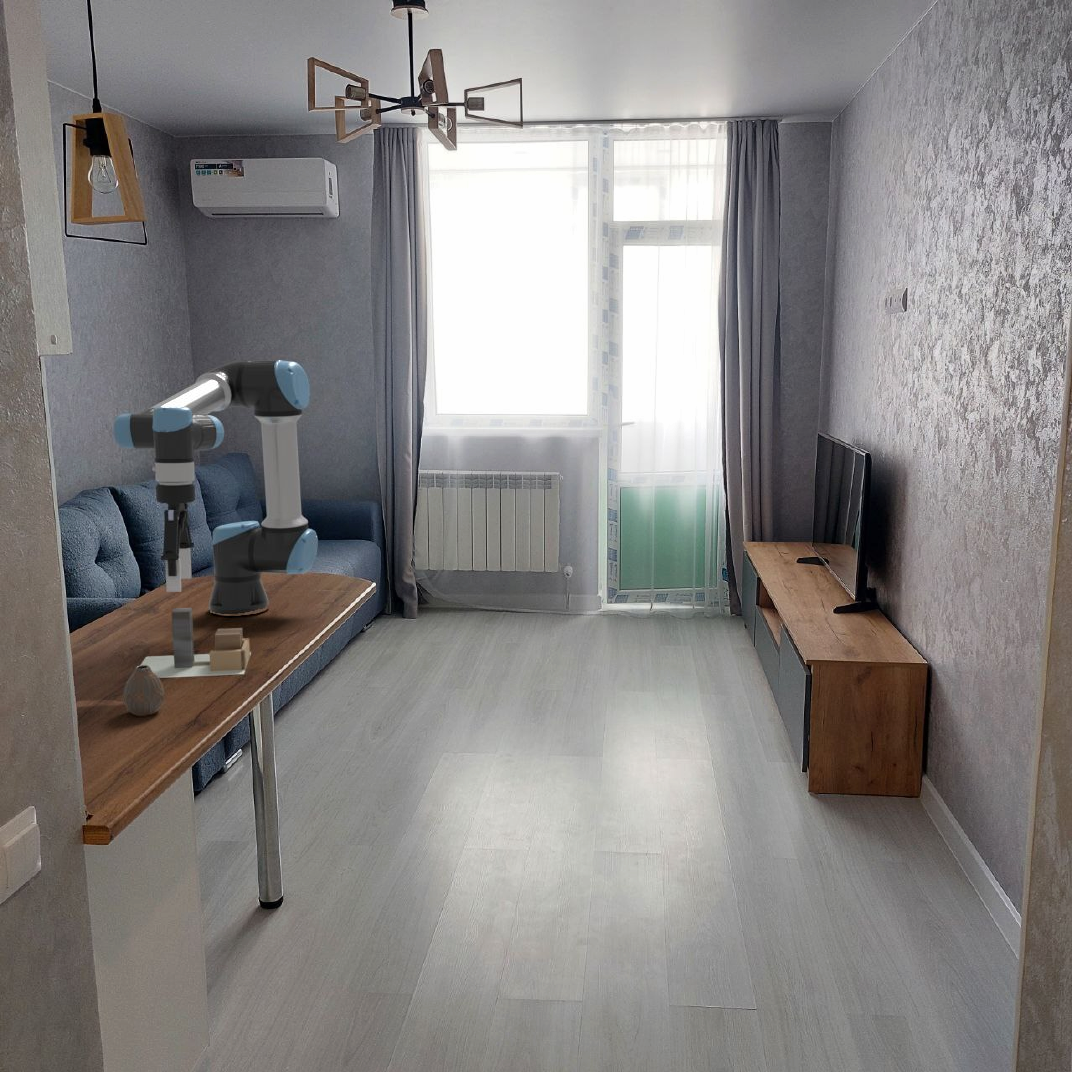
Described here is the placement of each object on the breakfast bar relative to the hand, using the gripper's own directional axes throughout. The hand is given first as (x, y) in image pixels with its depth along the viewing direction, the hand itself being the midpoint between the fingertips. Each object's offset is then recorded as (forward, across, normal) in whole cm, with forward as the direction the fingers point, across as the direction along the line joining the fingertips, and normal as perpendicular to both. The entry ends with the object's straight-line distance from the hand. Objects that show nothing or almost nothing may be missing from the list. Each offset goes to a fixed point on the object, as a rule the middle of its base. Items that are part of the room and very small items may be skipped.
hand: (179, 585), depth 207 cm
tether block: (+17, -1, +5) cm, 18 cm away
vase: (+19, +25, -3) cm, 32 cm away
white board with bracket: (+18, -1, +2) cm, 19 cm away
